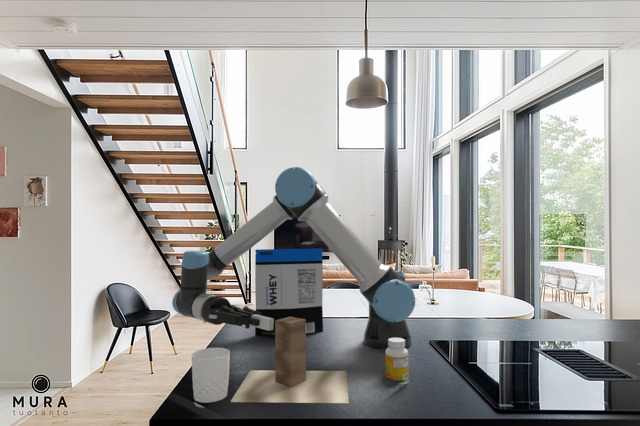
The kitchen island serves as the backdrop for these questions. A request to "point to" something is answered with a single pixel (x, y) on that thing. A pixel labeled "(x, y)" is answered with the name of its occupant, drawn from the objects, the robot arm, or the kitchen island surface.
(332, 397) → the board
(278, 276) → the protein powder
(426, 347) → the kitchen island surface
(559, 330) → the kitchen island surface
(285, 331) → the block
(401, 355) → the supplement bottle
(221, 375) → the white cup
